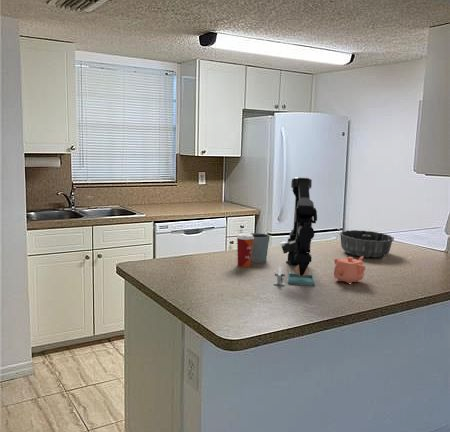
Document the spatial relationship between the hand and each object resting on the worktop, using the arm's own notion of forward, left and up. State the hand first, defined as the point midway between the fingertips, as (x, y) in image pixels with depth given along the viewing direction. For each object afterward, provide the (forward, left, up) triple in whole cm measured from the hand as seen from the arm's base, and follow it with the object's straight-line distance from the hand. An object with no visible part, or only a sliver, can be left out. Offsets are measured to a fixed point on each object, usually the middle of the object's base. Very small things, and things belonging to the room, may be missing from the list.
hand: (301, 273), depth 191 cm
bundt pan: (-61, -25, -3) cm, 66 cm away
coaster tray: (0, 0, -3) cm, 3 cm away
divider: (+7, -5, -3) cm, 9 cm away
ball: (0, 0, -1) cm, 1 cm away
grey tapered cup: (-2, -35, -3) cm, 35 cm away
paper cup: (+9, -29, -3) cm, 30 cm away
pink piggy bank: (-18, +8, -3) cm, 20 cm away
